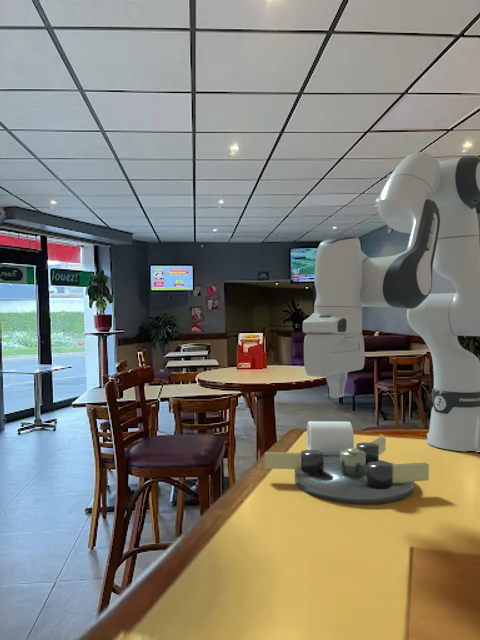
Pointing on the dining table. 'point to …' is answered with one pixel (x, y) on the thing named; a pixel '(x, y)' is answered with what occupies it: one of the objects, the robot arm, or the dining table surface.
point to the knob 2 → (372, 449)
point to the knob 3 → (395, 473)
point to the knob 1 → (296, 461)
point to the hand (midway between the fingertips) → (336, 397)
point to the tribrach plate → (349, 481)
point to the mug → (329, 437)
